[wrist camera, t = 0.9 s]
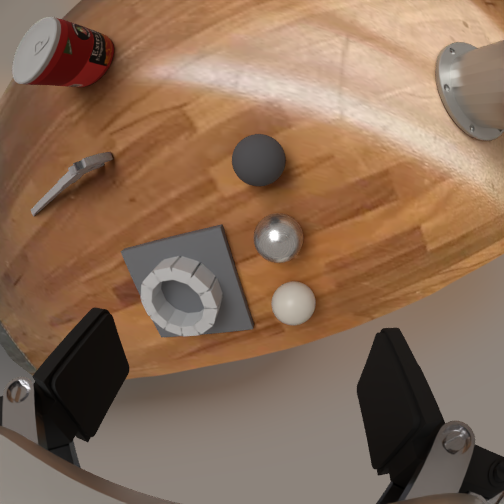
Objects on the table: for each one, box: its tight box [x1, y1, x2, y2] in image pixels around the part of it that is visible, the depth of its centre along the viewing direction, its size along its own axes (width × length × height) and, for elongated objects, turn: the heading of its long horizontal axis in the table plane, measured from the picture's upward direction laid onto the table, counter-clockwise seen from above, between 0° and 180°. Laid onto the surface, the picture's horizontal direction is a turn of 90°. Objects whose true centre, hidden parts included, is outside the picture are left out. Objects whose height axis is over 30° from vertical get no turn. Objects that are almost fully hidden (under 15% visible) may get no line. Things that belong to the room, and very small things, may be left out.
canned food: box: [12, 17, 114, 87], centre depth 18 cm, size 8×8×11 cm
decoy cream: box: [272, 281, 316, 325], centre depth 30 cm, size 5×5×5 cm
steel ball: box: [254, 213, 303, 263], centre depth 28 cm, size 5×5×5 cm
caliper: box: [31, 152, 113, 216], centre depth 28 cm, size 20×1×6 cm, turn 110°
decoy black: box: [232, 134, 286, 186], centre depth 25 cm, size 5×5×5 cm
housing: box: [121, 225, 254, 337], centre depth 33 cm, size 14×14×4 cm
